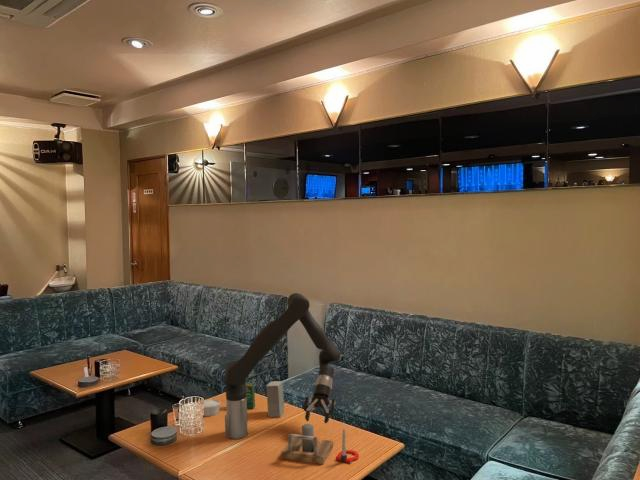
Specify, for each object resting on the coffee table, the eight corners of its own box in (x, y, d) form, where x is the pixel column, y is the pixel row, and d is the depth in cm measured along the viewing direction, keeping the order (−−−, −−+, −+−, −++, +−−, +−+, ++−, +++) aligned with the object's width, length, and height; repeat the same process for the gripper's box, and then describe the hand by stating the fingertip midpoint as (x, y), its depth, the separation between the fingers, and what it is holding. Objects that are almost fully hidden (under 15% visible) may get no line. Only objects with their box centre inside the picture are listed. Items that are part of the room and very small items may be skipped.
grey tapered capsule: (300, 454, 191) (300, 428, 190) (304, 448, 195) (304, 423, 195) (311, 455, 189) (311, 429, 189) (315, 450, 194) (314, 424, 194)
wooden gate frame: (281, 458, 188) (280, 434, 187) (293, 442, 201) (293, 420, 201) (323, 464, 182) (323, 439, 182) (333, 447, 196) (332, 424, 195)
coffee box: (239, 407, 242) (238, 383, 241) (241, 405, 245) (240, 381, 244) (252, 409, 239) (252, 384, 239) (255, 407, 242) (254, 382, 242)
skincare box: (280, 417, 228) (279, 386, 227) (266, 417, 229) (265, 385, 229) (284, 411, 236) (284, 380, 236) (271, 410, 238) (270, 380, 237)
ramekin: (225, 411, 238) (224, 401, 238) (209, 419, 229) (209, 408, 228) (209, 407, 244) (209, 397, 244) (193, 414, 235) (193, 404, 234)
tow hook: (343, 451, 194) (333, 460, 186) (343, 420, 194) (333, 428, 186) (362, 455, 189) (352, 465, 181) (362, 424, 190) (352, 432, 182)
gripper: (306, 382, 213) (298, 416, 202) (336, 384, 209) (329, 420, 198) (310, 389, 218) (303, 423, 208) (339, 392, 214) (333, 426, 203)
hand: (316, 421), depth 203 cm, fingers open, 8 cm apart
